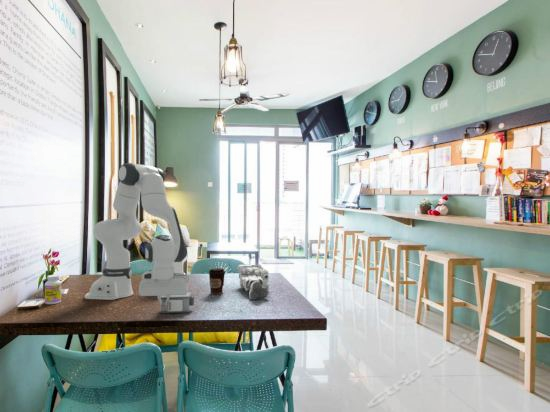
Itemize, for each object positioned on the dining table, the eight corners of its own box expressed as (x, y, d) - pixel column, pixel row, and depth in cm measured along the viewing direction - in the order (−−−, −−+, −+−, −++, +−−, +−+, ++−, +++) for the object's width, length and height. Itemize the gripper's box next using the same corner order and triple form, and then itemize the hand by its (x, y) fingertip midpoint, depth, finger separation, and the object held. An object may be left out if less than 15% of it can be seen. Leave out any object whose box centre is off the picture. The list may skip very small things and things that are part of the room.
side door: (167, 311, 154) (167, 300, 154) (168, 310, 156) (168, 299, 156) (181, 311, 154) (181, 300, 154) (182, 310, 157) (182, 299, 157)
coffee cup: (221, 296, 185) (221, 270, 184) (206, 295, 186) (206, 270, 186) (227, 291, 193) (227, 267, 193) (212, 290, 195) (212, 267, 195)
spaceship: (262, 281, 213) (262, 261, 212) (277, 303, 179) (278, 280, 178) (235, 282, 209) (236, 262, 208) (246, 305, 175) (247, 282, 174)
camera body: (160, 313, 156) (160, 297, 155) (164, 308, 163) (164, 292, 163) (192, 312, 157) (192, 296, 157) (194, 307, 164) (194, 292, 164)
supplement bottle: (42, 305, 167) (42, 277, 166) (48, 301, 173) (48, 274, 173) (58, 304, 168) (58, 276, 168) (63, 300, 174) (63, 274, 174)
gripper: (189, 271, 158) (189, 302, 159) (141, 272, 156) (141, 303, 157) (187, 274, 152) (187, 307, 152) (137, 275, 150) (137, 308, 150)
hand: (163, 305), depth 154 cm, fingers closed
